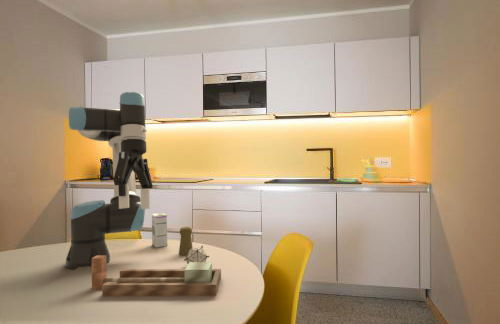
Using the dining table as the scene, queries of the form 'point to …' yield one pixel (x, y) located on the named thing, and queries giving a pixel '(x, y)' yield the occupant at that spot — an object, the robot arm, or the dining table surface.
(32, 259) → the dining table surface
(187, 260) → the game die
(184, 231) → the cork
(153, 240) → the syrup box
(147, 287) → the tray
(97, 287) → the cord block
